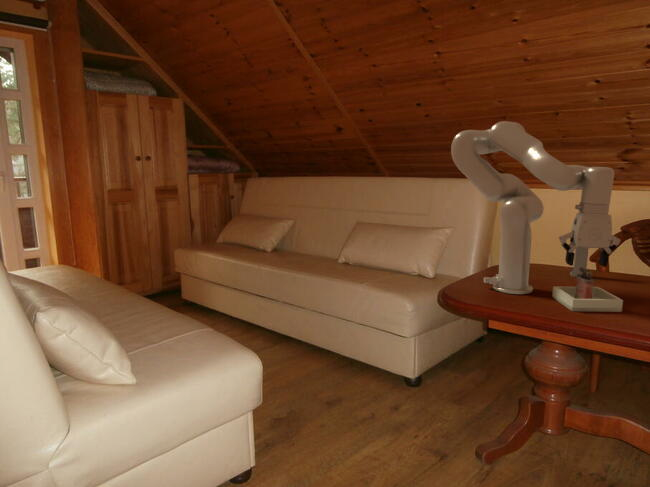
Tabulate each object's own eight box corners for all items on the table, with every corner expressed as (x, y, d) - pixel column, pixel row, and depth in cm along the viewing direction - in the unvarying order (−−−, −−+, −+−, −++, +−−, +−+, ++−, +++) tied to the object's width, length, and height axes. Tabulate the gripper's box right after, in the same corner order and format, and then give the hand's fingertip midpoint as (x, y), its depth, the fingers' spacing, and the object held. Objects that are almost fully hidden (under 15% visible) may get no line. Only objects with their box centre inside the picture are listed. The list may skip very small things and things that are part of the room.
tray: (571, 311, 136) (573, 299, 135) (552, 296, 149) (553, 286, 149) (621, 311, 135) (623, 300, 134) (597, 297, 148) (598, 286, 148)
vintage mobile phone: (570, 274, 177) (576, 209, 172) (585, 275, 175) (591, 209, 170) (570, 276, 174) (576, 210, 169) (585, 278, 172) (592, 210, 167)
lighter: (594, 304, 138) (597, 272, 136) (582, 304, 138) (585, 272, 136) (583, 296, 145) (586, 266, 144) (572, 296, 146) (574, 265, 144)
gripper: (569, 210, 134) (561, 267, 137) (631, 211, 132) (622, 269, 136) (558, 206, 141) (551, 261, 145) (617, 208, 140) (608, 263, 143)
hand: (585, 265), depth 140 cm, fingers open, 9 cm apart
